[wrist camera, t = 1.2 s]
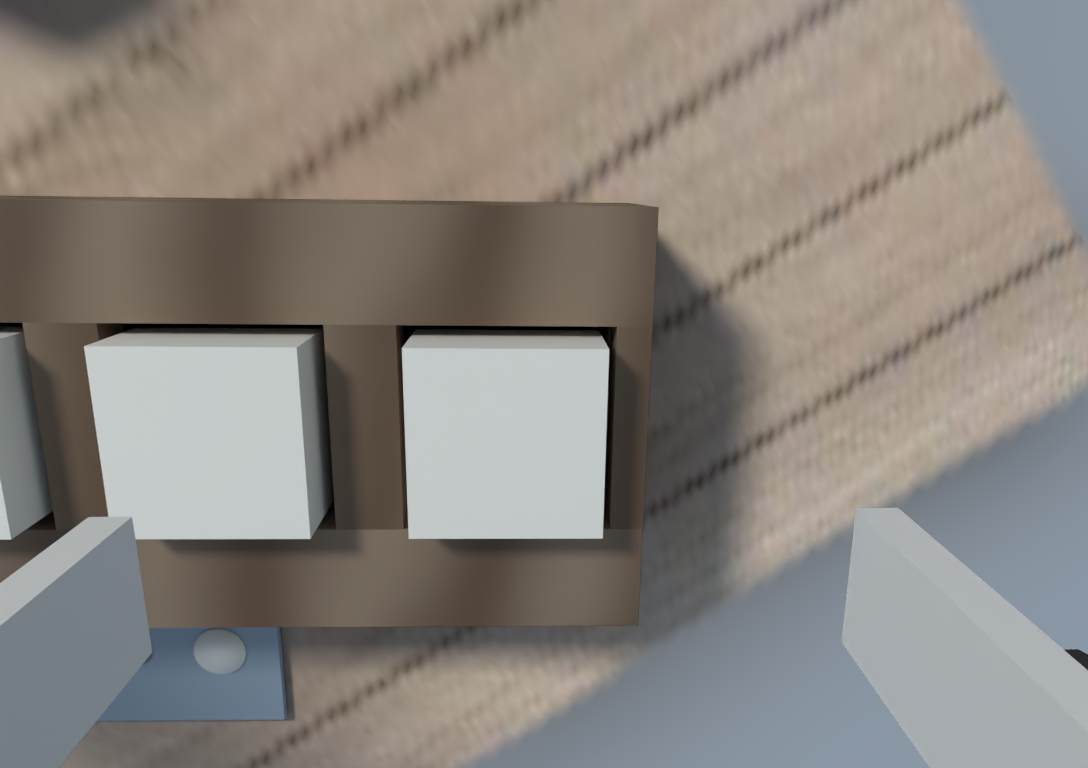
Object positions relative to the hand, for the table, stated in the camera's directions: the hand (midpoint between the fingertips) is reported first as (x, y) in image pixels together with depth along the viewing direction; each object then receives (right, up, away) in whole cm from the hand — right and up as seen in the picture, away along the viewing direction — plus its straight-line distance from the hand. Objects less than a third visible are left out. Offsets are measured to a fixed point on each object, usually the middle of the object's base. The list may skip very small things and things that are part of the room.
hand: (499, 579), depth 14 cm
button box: (-10, +4, +16) cm, 19 cm away
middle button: (-9, +3, +11) cm, 15 cm away
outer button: (0, +2, +12) cm, 12 cm away
